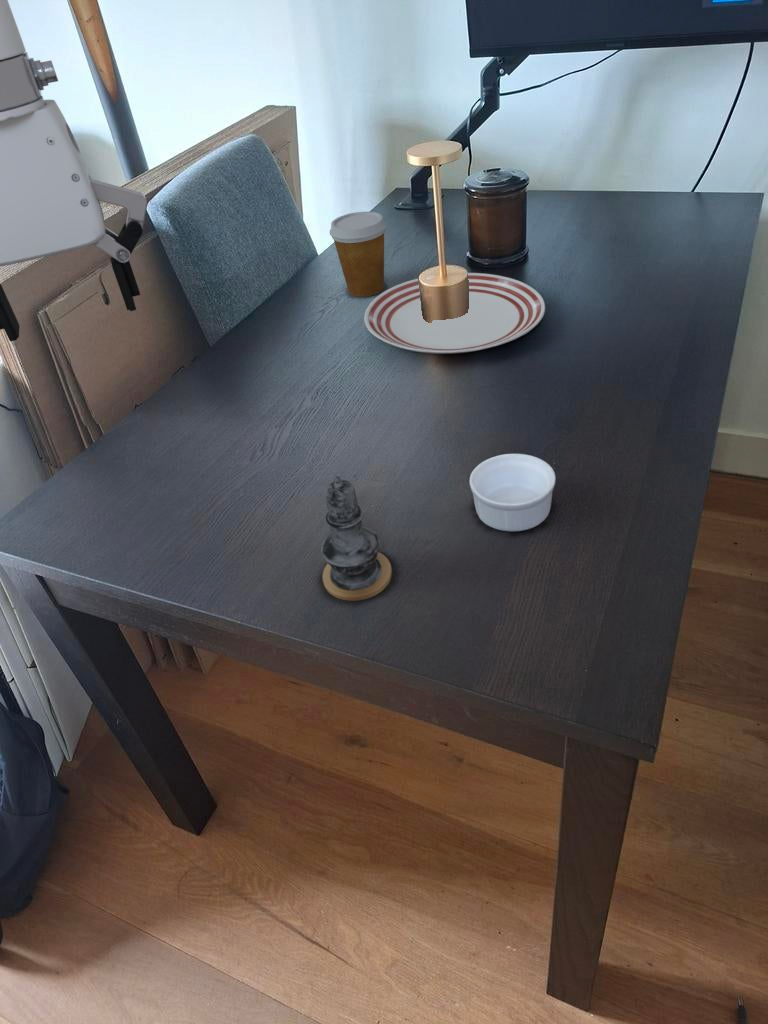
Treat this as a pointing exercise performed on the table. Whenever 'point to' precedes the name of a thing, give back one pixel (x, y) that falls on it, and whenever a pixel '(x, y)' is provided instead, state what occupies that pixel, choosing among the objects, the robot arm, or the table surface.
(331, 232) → the disposable coffee cup
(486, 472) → the ramekin
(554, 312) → the table surface
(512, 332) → the dinner plate
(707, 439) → the table surface
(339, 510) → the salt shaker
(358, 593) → the coaster
